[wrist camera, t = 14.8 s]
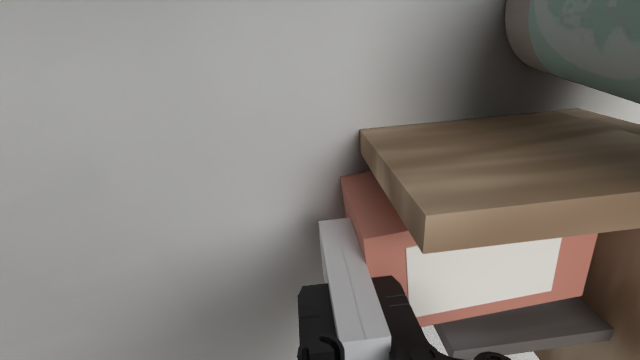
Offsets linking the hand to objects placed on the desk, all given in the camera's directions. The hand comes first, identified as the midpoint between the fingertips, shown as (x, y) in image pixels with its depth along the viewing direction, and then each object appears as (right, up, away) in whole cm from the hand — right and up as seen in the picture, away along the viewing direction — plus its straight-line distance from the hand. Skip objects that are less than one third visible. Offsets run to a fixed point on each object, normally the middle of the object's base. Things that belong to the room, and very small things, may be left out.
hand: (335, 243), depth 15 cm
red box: (+5, +2, +2) cm, 6 cm away
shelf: (+8, 0, +3) cm, 8 cm away
